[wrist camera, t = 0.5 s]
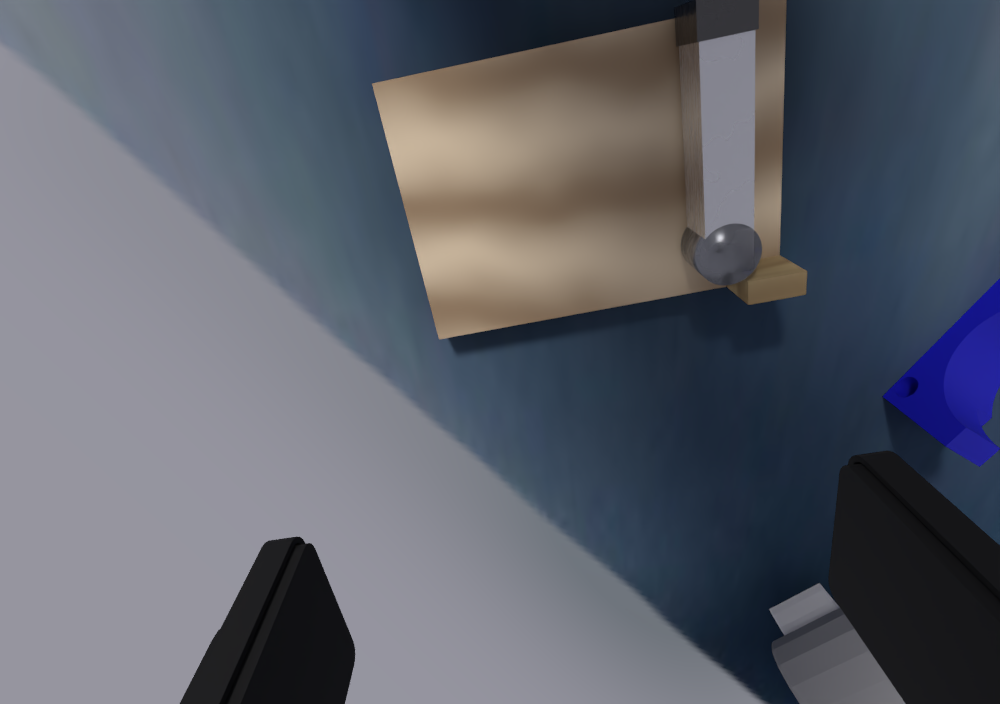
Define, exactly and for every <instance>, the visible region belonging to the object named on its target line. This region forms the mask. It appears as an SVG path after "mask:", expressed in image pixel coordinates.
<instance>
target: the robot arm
mask: <svg viewBox="0 0 1000 704" xmlns="http://www.w3.org/2000/svg"><path fill="white" fill-rule="evenodd" d="M829 586H830V590H831V593H832V595H833V597H834V599H835V601H836V602H837V604H838V605H839V607H840V608H841V610H842V611H843V613H844V614H845V616H846V617H847V619H848V620H849V622H850V623H851V624H852V626H853V627H854V629H855V630H856V632H857V633H858V635H859V636H860V638H861V639H862V641H863V642H864V644H865V645H866V646H867V648H868V649H869V651H870V652H871V654H872V655H873V657H874V658H875V660H876V661H877V663H878V664H879V666H880V667H881V669H882V670H883V671H884V673H885V674H886V676H887V677H888V679H889V680H890V682H891V683H892V685H893V686H894V688H895V689H896V691H897V692H898V694H899V695H900V696H901V698H902V699H903V701H904V702H905V704H1000V545H998V544H997V543H996V542H995V541H994V540H993V539H992V538H990V537H989V536H988V535H987V534H986V533H985V532H984V531H983V530H981V529H980V528H979V527H978V526H977V525H976V524H975V523H974V522H972V521H971V520H970V519H969V518H968V517H967V516H966V515H965V514H963V513H962V512H961V511H960V510H959V509H958V508H957V507H956V506H954V505H953V504H952V503H951V502H950V501H949V500H948V499H946V498H945V497H944V496H943V495H942V494H941V493H940V492H939V491H937V490H936V489H935V488H934V487H933V486H932V485H931V484H930V483H928V482H927V481H926V480H925V479H924V478H923V477H922V476H921V475H919V474H918V473H917V472H916V471H915V470H914V469H913V468H912V467H910V466H909V465H908V464H907V463H906V462H905V461H904V460H903V459H901V458H900V457H899V456H898V455H897V454H895V453H894V452H891V451H882V452H875V453H868V454H861V455H855V456H852V457H851V458H850V460H849V462H848V465H846V466H843V467H842V468H841V469H840V474H839V483H838V493H837V502H836V512H835V521H834V531H833V540H832V550H831V559H830V569H829ZM354 662H355V647H354V643H353V640H352V637H351V635H350V632H349V630H348V628H347V625H346V623H345V620H344V618H343V615H342V613H341V611H340V608H339V606H338V603H337V601H336V598H335V596H334V593H333V591H332V589H331V586H330V584H329V581H328V579H327V576H326V574H325V572H324V569H323V567H322V564H321V562H320V560H319V557H318V555H317V552H316V550H315V548H314V546H313V545H312V544H310V543H308V544H305V542H304V541H303V539H302V538H300V537H292V538H285V539H279V540H271V541H268V542H266V543H265V544H264V545H263V547H262V548H261V550H260V552H259V554H258V557H257V558H256V560H255V562H254V564H253V566H252V568H251V570H250V572H249V574H248V576H247V578H246V580H245V582H244V584H243V586H242V588H241V590H240V592H239V594H238V596H237V598H236V600H235V602H234V604H233V606H232V607H231V609H230V611H229V613H228V615H227V617H226V620H225V621H224V623H223V625H222V627H221V629H220V630H218V632H217V634H216V635H215V637H214V638H213V640H212V642H211V644H210V645H209V648H208V649H207V651H206V653H205V656H204V657H203V659H202V661H201V663H200V665H199V667H198V669H197V671H196V673H195V675H194V677H193V679H192V681H191V683H190V685H189V687H188V689H187V691H186V693H185V694H184V696H183V699H182V700H181V702H180V704H345V700H346V696H347V692H348V688H349V684H350V680H351V675H352V671H353V667H354Z"/></svg>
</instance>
